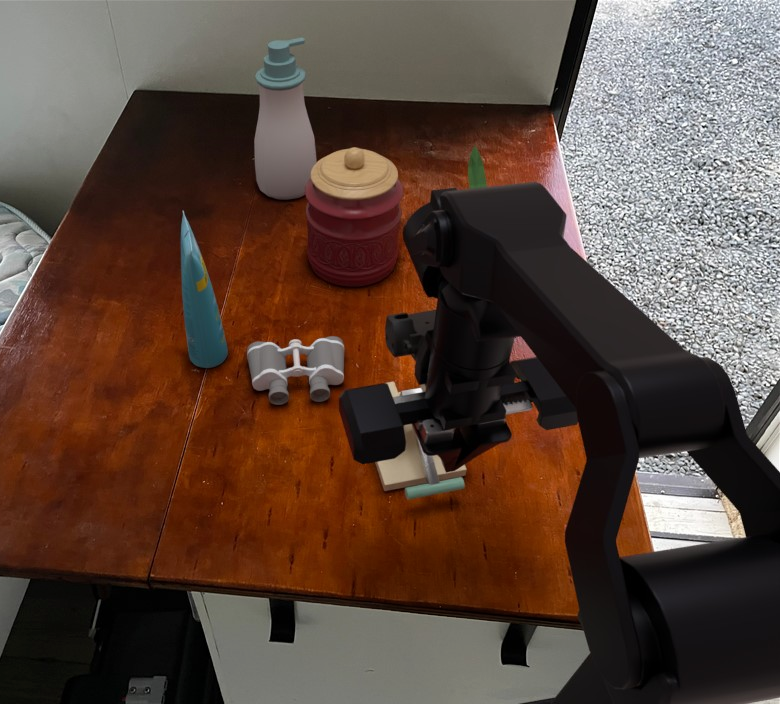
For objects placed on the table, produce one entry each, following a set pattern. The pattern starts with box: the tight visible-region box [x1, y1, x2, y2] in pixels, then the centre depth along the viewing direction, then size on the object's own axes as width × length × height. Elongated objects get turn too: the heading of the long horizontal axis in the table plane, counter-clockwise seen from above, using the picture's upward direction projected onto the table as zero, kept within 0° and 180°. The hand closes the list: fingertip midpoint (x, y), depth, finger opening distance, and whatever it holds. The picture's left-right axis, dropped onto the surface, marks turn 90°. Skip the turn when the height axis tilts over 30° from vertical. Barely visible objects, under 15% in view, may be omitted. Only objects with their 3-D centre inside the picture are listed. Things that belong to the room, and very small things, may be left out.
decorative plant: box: [467, 145, 488, 189], centre depth 101 cm, size 6×8×30 cm
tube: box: [180, 210, 229, 369], centre depth 83 cm, size 7×5×19 cm, turn 19°
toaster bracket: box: [374, 381, 468, 492], centre depth 77 cm, size 12×9×8 cm
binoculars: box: [246, 335, 346, 406], centre depth 85 cm, size 12×8×4 cm, turn 94°
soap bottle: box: [254, 36, 317, 201], centre depth 107 cm, size 10×10×23 cm
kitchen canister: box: [304, 146, 404, 288], centre depth 95 cm, size 13×13×18 cm
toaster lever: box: [399, 387, 466, 501], centre depth 74 cm, size 11×6×2 cm, turn 12°
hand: (448, 467), depth 63 cm, fingers closed
